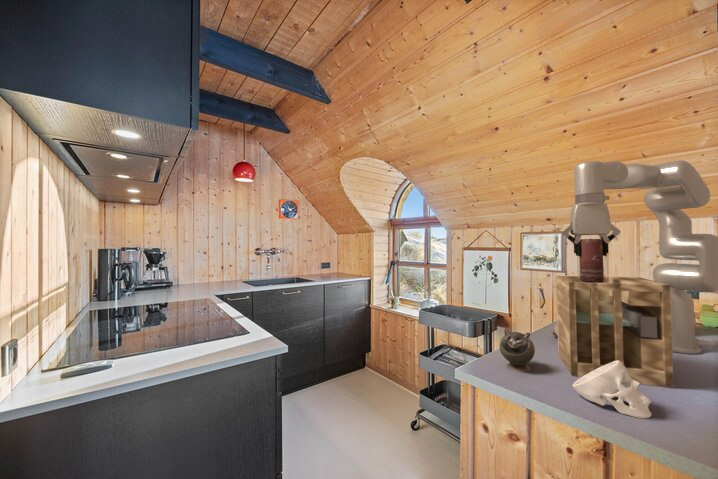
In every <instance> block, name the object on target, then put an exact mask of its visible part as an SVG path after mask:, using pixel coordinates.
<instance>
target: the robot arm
mask: <svg viewBox="0 0 718 479" xmlns="http://www.w3.org/2000/svg"><path fill="white" fill-rule="evenodd" d="M573 170H574V171H573V174H574V176H573V178H574V180H573V181H574V204H573V205H572V206H571V211H570V219H569V220H570V221H569V226H567V227H566V228H565V229H563V231H562V232H561V235H562V236H564V237H565V238H566V239H568V240H569V242H571V243H572V244H573V254H575V256H577V257H579V256H581V244H579V241H580V239H582V236H598V237H599V239H601V240H602V241H603V257H607V255H608V254H609V244H610V242H611V241H613V240H614V239H615V238H617V236H618V235H619V234H621V230H620V229H619V228H618V227H616V226H615V225H614V224H612V223H611V215H610V211H609V207H608V205H607V203H605V201H609V200H610V198H611V196H610V195H606V194H605V190H625V189H626V190H629V189H632V190H633V189H636V190H638V189H639V190H649V191H647V192H646V193H645V194H644V196H643V203H644V205H645V206H646V208H647V209H648V210H649V211H650V212H652V214H653V215H654V216H655V218H656V220H657V222H658V227H659V228H658V229H659V230H658V231H659V232H658V233H659V234H658V252H659V255H660V256H661V257H662V258H664V259H667V260H674V261H675V260H677V261H697V262H698V263H699V264H693V263H692V264H691V263H679V262H666V263H661V264H658V265H656V266H655V267H654V269H653V270H652V279H653V281H656V282H660V283H664V284H668V285H670V299H671V330H672V353H680V354H687V355H688V354H689V355H697V354H701V353H702V352H703V349H702V347H708V348H714V347H715V343H714V341H713V340H712V341H711V340H710V341H709V340H704V339H700V338H697V337H696V327H695V326H696V325H695V324H696V323H695V319H694V313H695V303H694V299H693V297H692V298H691V297H690V296H689V295H688V294H689V293H688V292H687V291H690V292H699V293H700V292H701V293H717V292H718V236H717V235H715V234H712V233H693V230H692V228H693V227H692V226H693V225H692V224H693V222H692V219H691V218H690V216H689V215H688V214H687V213H686V212H684V211H683V210H690V209H698V208H699V209H700V208H703V207H705V206H706V205H708V204H709V202H710V199H711V191H710V189H709V187H708V185H707V184H706V182H705V181H704V180H703V177H702V176H701V175H700V173H699V172H698V171H697V169H696V168H695V166H693V165H692V164H691V163H690V162H688V161H686V160H681V159H679V160H674V161H669V162H665V163H660V164H659V163H658V164H642V163H629V164H625V163H623V162H621V161H618V160H617V161H615V160H613V161H602V162H601V161H599V160H591V161H584V162H580V163H578V164H576V165H575V166H574V168H573ZM611 232H612V233H611ZM608 234H609V235H608ZM572 235H573V236H572Z"/></svg>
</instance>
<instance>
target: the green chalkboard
mask: <svg viewBox="0 0 718 479" xmlns="http://www.w3.org/2000/svg"><path fill="white" fill-rule="evenodd" d="M598 315H599V324H603V325H614V313H613V314H603V313H598ZM576 323H588V324H591V313H585V312H576ZM622 326H625V327H627V328H628V329H630V330H631V331H633V332H634V333H636V334H638V335H639V336H641V337H650V338H657V318H656V317H654V316H652V315H650V314H648V313H646V312H643V311H641V310H639V309H637V308H635V307H629V306H622Z"/></svg>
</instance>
